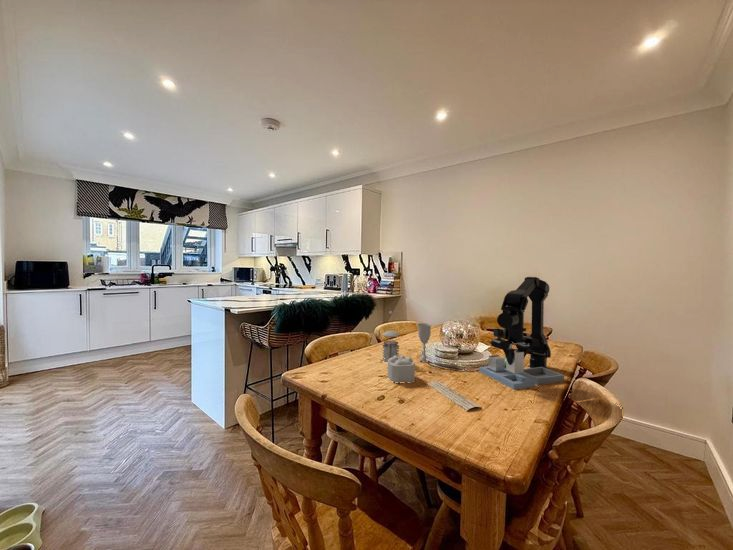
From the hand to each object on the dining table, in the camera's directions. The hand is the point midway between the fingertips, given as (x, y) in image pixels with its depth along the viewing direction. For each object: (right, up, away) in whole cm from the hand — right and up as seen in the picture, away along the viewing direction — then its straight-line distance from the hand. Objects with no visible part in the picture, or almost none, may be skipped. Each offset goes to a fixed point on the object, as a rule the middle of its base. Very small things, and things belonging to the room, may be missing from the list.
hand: (514, 363), depth 120 cm
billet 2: (0, -3, 0) cm, 3 cm away
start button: (+6, -6, +18) cm, 20 cm away
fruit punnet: (-45, -8, +7) cm, 46 cm away
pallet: (-2, -8, +5) cm, 10 cm away
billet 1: (-3, -8, +10) cm, 13 cm away
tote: (+13, -8, +5) cm, 16 cm away
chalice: (-30, -7, +30) cm, 43 cm away
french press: (-47, -7, +26) cm, 54 cm away
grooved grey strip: (-27, -9, -10) cm, 31 cm away
